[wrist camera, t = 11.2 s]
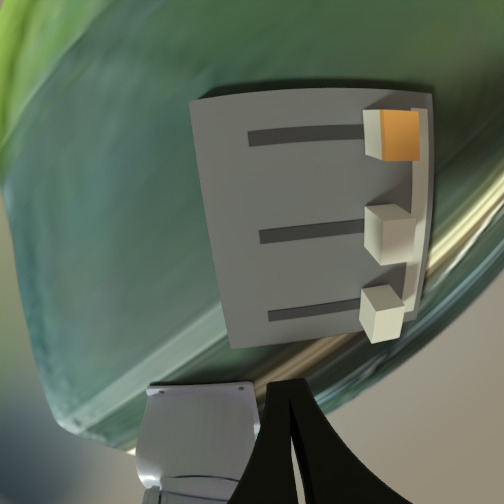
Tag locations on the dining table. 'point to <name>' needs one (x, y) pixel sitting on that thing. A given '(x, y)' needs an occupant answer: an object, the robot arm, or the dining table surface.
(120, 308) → the dining table surface
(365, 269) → the panel
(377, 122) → the switch
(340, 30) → the dining table surface
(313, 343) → the dining table surface
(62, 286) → the dining table surface
